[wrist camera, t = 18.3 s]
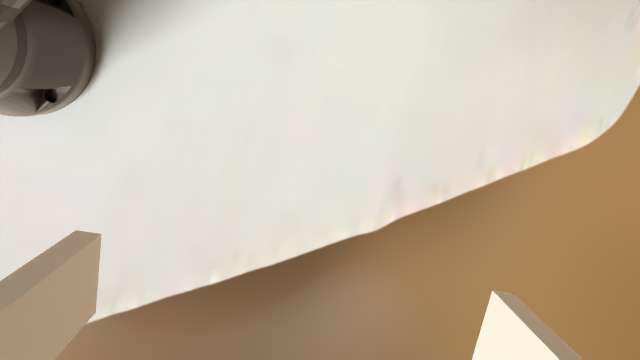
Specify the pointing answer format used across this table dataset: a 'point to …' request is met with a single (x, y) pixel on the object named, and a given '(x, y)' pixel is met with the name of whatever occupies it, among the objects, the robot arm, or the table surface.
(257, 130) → the table surface
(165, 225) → the table surface
